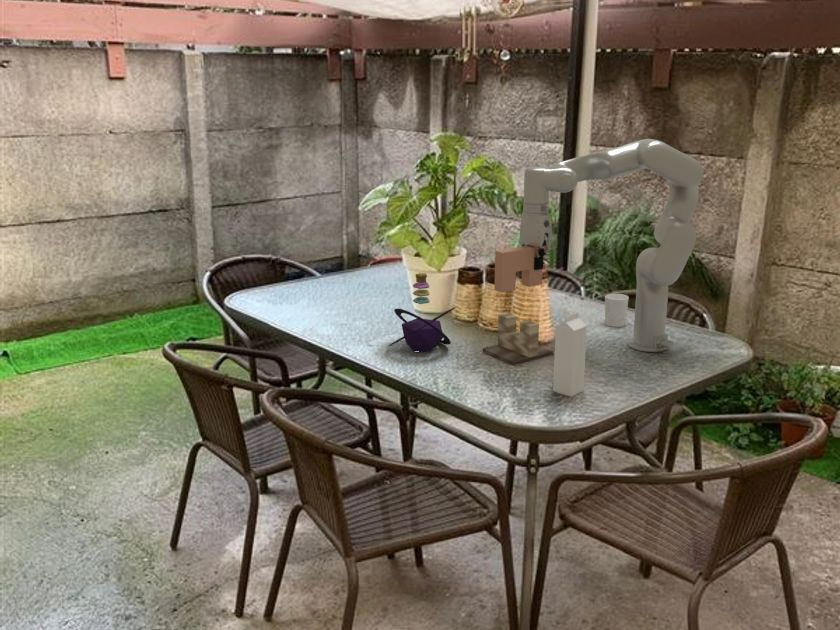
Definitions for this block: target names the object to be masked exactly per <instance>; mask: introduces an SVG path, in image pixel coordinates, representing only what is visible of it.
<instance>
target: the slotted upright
mask: <svg viewBox="0 0 840 630" xmlns="http://www.w3.org/2000/svg"><path fill="white" fill-rule="evenodd" d="M517 319H518V318H517V315H514V314H511V313H508V312H504V313H499V314H498V315H497V344H493V345H491V346H486V347H483V348H481V349H482V350H481V351H483V352H485V353H484V354H486V353H487V354H486V355H488V354H489V356H490V355H491V357H493V358H496V359H497V358H498V360H499V361H502V362H504V363H507V364H509V365H512V366H516V365H521V364H524V363H527V362H532V361H535V360H536V361H537V360H538V359H542V358H546V357H550V356H553V355H554V350H552V349H549V348H546V347H544V346H542V345H539V341H540V340H539V337H540V336H539V333H540V323H536V322H534V321H532V320H529V319H528V320H525V321H524V320H523V321H521V322H519V331H517ZM483 352H482V353H483Z"/></svg>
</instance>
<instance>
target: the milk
mask: <svg viewBox="0 0 840 630" xmlns="http://www.w3.org/2000/svg"><path fill="white" fill-rule="evenodd" d="M587 329H588V326H587V324H585V322H583V321H582V319H580V317H579V312H575V313H572V314H569V315H567V316H565V318H564V322H563V323H560V324H558V325H555V336H554V338H555V339H554V361H553V363H554V364H553V389H552V390H553V392H554V393H557V394H561V395H564V396H567V397H570V398H571V397H574V396H576V395H577V394H580V393H583V391H584V389H585V388H584V387H585V370H586V368H585V367H586V351H587V350H586V349H587V347H586V346H587V332H588V331H587Z"/></svg>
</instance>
